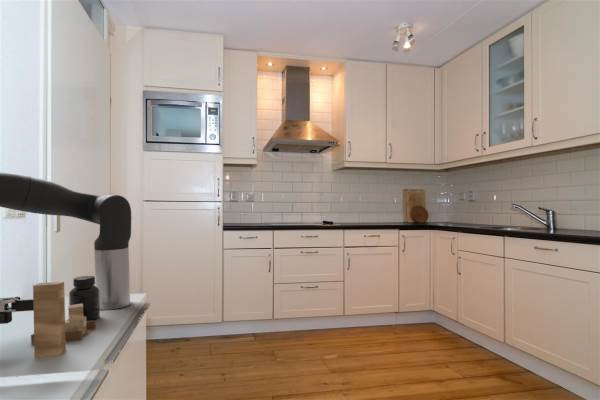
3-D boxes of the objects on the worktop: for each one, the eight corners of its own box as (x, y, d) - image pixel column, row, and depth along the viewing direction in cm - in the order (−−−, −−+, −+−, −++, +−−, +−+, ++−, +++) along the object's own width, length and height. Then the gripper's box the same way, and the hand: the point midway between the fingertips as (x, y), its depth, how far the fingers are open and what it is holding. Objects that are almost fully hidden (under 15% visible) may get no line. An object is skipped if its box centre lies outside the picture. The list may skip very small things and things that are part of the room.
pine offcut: (71, 332, 88) (71, 317, 88) (86, 331, 88) (86, 316, 88) (63, 338, 84) (62, 322, 84) (78, 337, 84) (78, 321, 84)
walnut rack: (51, 336, 90) (50, 323, 90) (96, 333, 91) (95, 320, 91) (31, 349, 82) (30, 335, 82) (81, 345, 83) (80, 331, 83)
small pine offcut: (68, 318, 87) (68, 305, 87) (82, 316, 89) (82, 303, 89) (68, 322, 84) (68, 308, 84) (83, 319, 86) (83, 306, 86)
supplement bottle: (65, 330, 94) (64, 281, 94) (74, 321, 101) (72, 276, 101) (96, 326, 96) (95, 278, 96) (103, 318, 102) (101, 273, 102)
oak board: (41, 358, 77) (40, 282, 77) (65, 356, 77) (64, 281, 77) (34, 363, 74) (33, 285, 74) (59, 361, 75) (57, 284, 75)
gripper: (-103, 305, 66) (0, 300, 68) (-40, 287, 80) (43, 283, 82) (-102, 349, 66) (1, 342, 68) (-40, 323, 80) (44, 318, 82)
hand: (24, 310), depth 75 cm, fingers open, 8 cm apart
